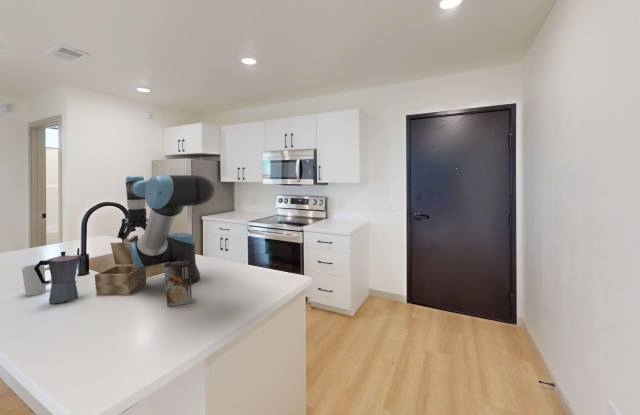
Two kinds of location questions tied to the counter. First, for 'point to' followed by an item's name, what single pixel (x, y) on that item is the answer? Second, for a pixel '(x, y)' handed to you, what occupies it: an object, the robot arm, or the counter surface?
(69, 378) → the counter surface
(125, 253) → the flap
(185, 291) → the coffee box
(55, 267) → the moka pot
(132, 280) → the carton
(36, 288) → the mug
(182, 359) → the counter surface
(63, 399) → the counter surface
